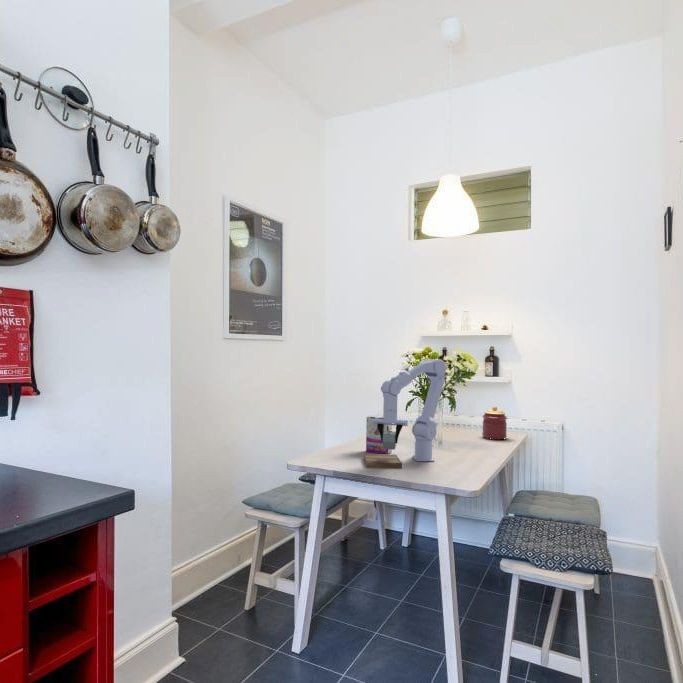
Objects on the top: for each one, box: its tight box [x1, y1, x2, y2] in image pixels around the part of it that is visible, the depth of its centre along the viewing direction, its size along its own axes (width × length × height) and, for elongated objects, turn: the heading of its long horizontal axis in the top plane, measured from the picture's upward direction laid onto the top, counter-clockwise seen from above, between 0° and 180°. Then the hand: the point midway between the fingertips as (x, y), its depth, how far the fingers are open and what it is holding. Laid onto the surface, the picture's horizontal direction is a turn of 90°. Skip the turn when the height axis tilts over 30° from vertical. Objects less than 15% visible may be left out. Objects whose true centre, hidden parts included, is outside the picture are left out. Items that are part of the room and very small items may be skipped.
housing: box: [383, 429, 397, 451], centre depth 202 cm, size 5×8×7 cm, turn 169°
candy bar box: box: [365, 415, 393, 454], centre depth 225 cm, size 11×5×16 cm, turn 62°
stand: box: [363, 453, 403, 469], centre depth 203 cm, size 16×14×2 cm
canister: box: [481, 406, 508, 440], centre depth 270 cm, size 13×13×18 cm
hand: (389, 442), depth 202 cm, fingers closed on housing, 5 cm apart
